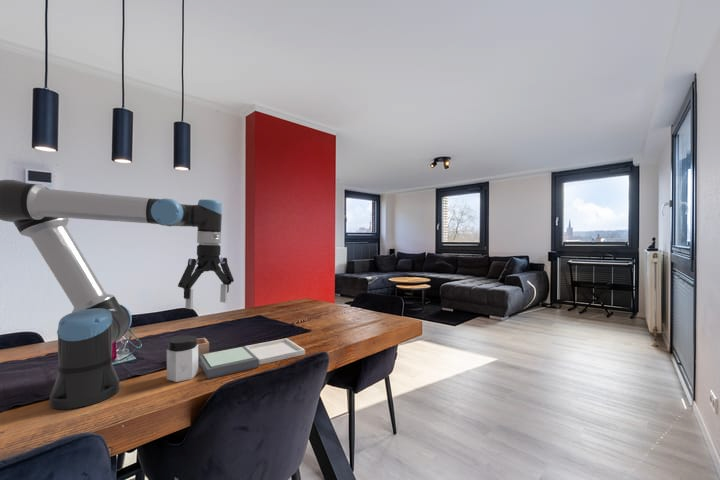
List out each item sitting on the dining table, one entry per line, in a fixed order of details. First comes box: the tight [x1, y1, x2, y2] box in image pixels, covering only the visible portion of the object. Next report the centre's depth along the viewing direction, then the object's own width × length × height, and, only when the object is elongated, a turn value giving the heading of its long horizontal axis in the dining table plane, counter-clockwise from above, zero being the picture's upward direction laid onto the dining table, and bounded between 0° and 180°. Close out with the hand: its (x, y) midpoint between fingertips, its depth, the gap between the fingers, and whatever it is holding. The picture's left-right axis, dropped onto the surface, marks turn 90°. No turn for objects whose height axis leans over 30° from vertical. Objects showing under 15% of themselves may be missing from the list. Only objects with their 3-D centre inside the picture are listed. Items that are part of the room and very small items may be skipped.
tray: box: [244, 337, 306, 366], centre depth 128 cm, size 18×18×2 cm
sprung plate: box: [203, 346, 253, 368], centre depth 115 cm, size 13×13×1 cm
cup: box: [197, 337, 210, 355], centre depth 122 cm, size 8×8×6 cm
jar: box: [166, 335, 199, 383], centre depth 106 cm, size 9×8×12 cm
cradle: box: [198, 345, 259, 380], centre depth 115 cm, size 16×16×3 cm
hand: (207, 305), depth 115 cm, fingers open, 13 cm apart
